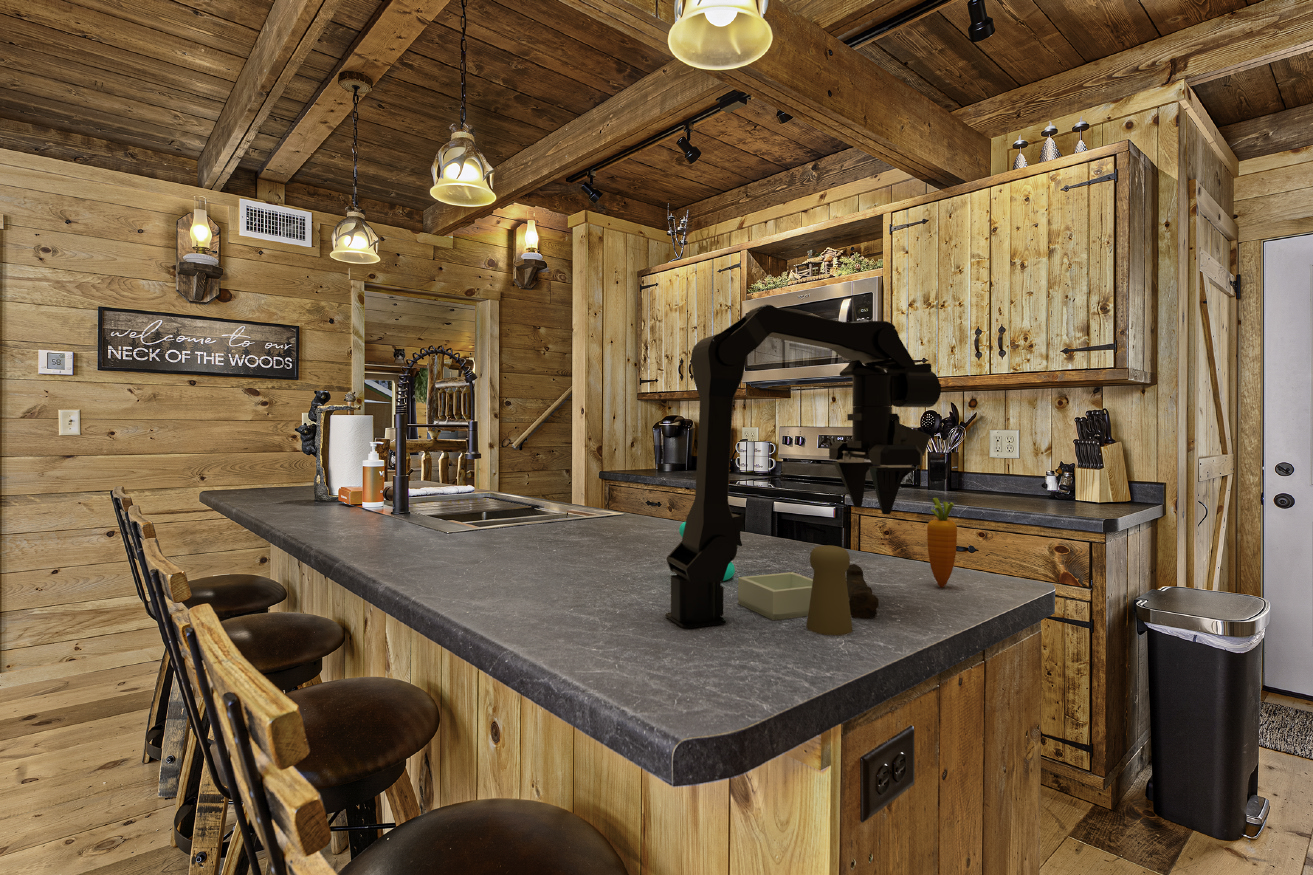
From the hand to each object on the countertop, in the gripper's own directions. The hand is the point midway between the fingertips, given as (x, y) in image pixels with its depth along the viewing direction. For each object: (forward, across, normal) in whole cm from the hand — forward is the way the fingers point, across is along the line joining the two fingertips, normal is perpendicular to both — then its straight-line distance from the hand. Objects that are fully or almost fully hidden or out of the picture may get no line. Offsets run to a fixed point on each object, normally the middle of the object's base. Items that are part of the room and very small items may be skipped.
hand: (871, 510), depth 103 cm
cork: (+15, -10, +11) cm, 21 cm away
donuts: (+15, +22, +20) cm, 33 cm away
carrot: (+15, +9, -17) cm, 24 cm away
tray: (+14, 0, +14) cm, 20 cm away
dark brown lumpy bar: (+15, +2, +2) cm, 15 cm away
